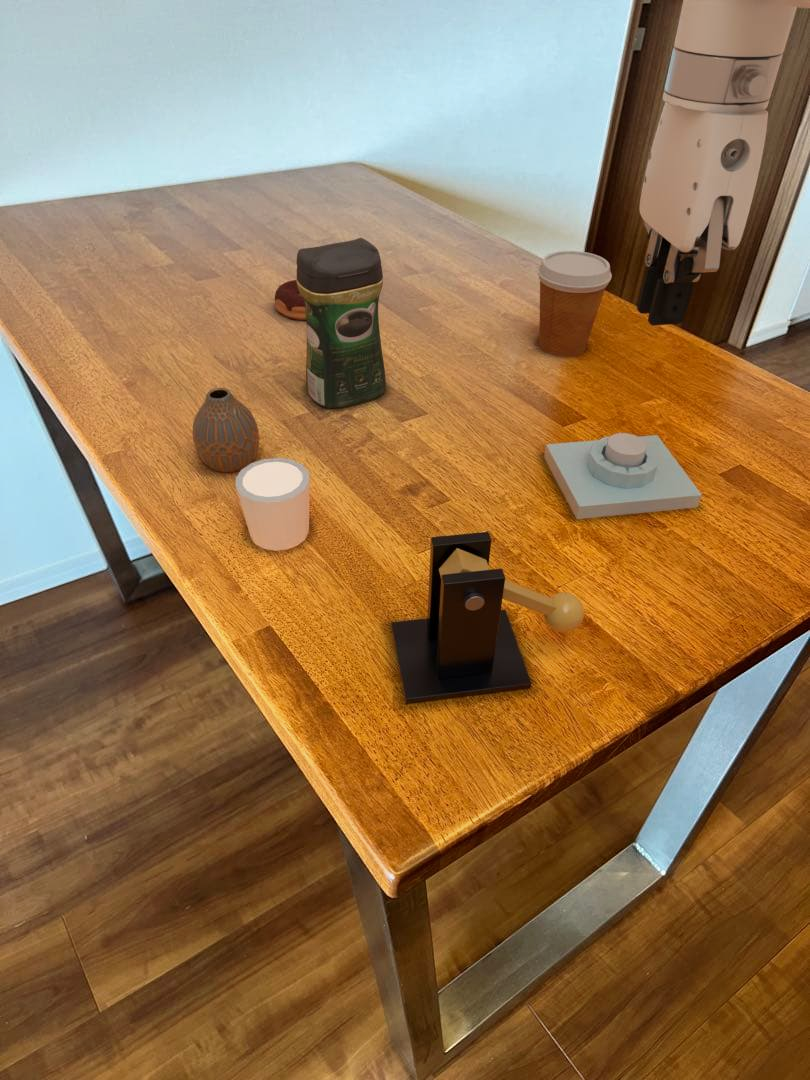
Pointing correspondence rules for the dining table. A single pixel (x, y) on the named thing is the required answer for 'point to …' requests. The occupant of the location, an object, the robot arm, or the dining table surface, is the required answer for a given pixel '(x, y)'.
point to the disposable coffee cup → (570, 299)
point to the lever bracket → (459, 632)
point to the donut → (290, 301)
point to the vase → (225, 432)
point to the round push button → (625, 450)
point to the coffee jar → (342, 322)
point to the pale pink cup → (275, 502)
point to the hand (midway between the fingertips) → (659, 316)
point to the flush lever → (524, 594)
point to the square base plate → (619, 480)
